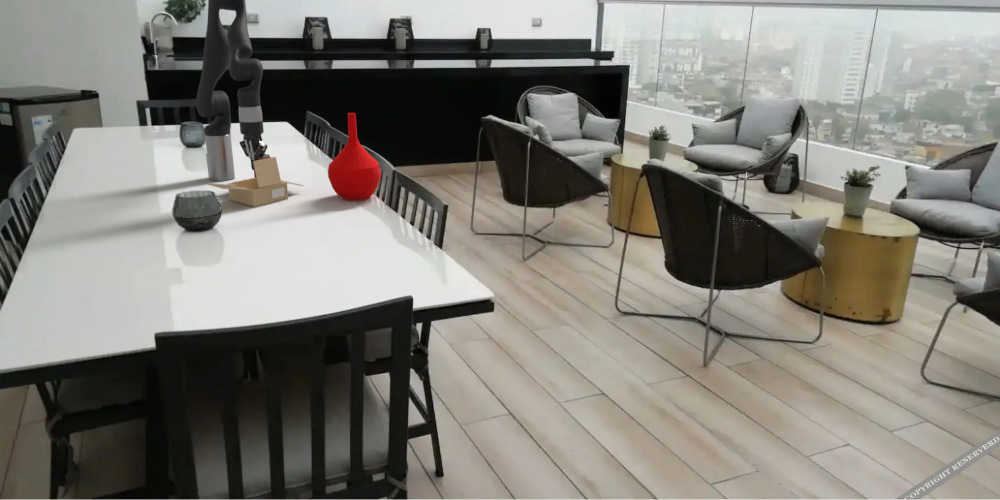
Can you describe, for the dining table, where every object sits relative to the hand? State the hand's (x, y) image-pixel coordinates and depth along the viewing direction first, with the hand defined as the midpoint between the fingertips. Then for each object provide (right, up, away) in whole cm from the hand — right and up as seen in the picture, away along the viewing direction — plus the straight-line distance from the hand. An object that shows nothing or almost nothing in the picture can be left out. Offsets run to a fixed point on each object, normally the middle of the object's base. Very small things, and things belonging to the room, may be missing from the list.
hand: (255, 169), depth 254 cm
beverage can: (-3, -5, +20) cm, 21 cm away
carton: (-1, -8, +9) cm, 12 cm away
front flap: (+5, -1, -4) cm, 6 cm away
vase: (+33, -9, +9) cm, 35 cm away
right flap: (-7, -6, -8) cm, 12 cm away
